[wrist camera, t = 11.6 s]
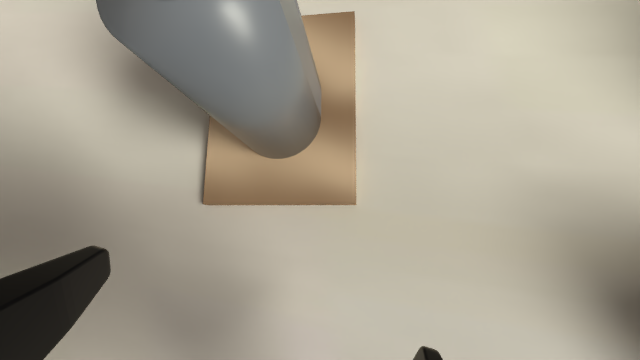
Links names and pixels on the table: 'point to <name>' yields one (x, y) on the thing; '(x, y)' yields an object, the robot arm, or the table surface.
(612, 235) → the table surface
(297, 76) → the grey tall rounded piece
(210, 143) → the cork pad
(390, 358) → the table surface
